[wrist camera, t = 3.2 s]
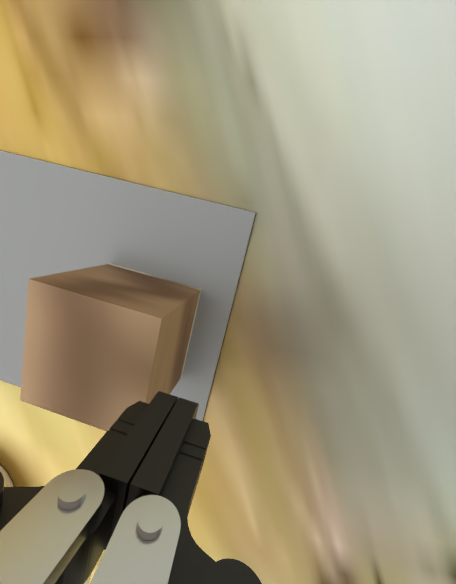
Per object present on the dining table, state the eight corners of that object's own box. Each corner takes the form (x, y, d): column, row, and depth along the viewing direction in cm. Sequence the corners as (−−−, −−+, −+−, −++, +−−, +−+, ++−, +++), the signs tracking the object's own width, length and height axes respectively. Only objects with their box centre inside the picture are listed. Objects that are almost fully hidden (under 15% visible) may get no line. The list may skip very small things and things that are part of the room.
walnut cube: (201, 288, 17) (161, 318, 11) (182, 376, 18) (137, 442, 13) (110, 263, 18) (28, 278, 12) (98, 349, 19) (20, 400, 13)
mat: (255, 213, 16) (255, 212, 16) (196, 444, 20) (195, 448, 19) (-72, 133, 18) (-79, 131, 18) (-68, 352, 22) (-74, 354, 22)
